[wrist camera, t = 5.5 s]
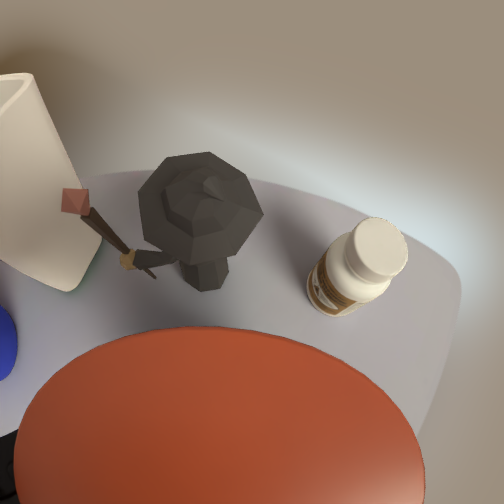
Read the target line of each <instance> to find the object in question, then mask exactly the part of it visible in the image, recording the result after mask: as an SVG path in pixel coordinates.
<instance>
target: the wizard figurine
mask: <svg viewBox="0 0 504 504" xmlns="http://www.w3.org/2000/svg"><path fill="white" fill-rule="evenodd" d="M138 198H139V206H140V214H141V222H142V229H143V236H144V240H145V241H147V242H149V243H150V244H152V245H154V246H156V247H157V248H159V249H161V250H163V251H162V252H156V251H148V250H139V249H137V251H135V250H133V249H129V248H128V247H127V246H126V245H125V244H124V243H123V242H122V241H121V239H120V238H119V237H118V236H117V235H116V234H115V233H114V231H113V230H112V229H111V228H110V227H109V226H108V224H107V223H106V222H105V221H104V220H103V219H102V217H101V216H100V215H99V214H98V213H97V211H96V210H95V209H94V208H93V207H90V204H89V195H88V189H72V188H63V192H62V205H61V212H66V213H72V214H78V215H81V217H80V219H81V220H83V221H84V222H85V223H86V224H87V225H89V226H90V227H91V228H92V229H93V230H95V231H96V232H97V233H98V234H99V235H101V236H102V237H103V238H104V239H105V240H107V241H108V242H109V243H110V244H112V245H113V246H114V247H115V248H117V249H118V250H119V251H120V252H122V254H121V256H120V263H121V266H122V267H123V268H125V269H126V270H131V269H137V268H138V269H139V270H144V271H145V272H146V273H148V274H149V275H150V276H151V277H153V278H154V279H156V278H157V277H156V276H155V275H154V274H153V273H152V272H151V271H150V270H149V269H148V268H152V267H157V266H162V265H166V264H171V263H174V262H175V261H177V260H179V264H180V267H181V270H182V273H183V276H184V279H185V281H186V282H187V283H189V284H190V285H191V286H193V287H194V288H196V289H197V290H198V291H200V292H202V291H208V290H215V289H220V288H221V286H222V284H223V282H224V280H225V278H226V276H227V274H228V272H229V270H228V264H227V258H226V257H229V256H233V255H236V254H237V252H238V251H239V249H240V248H241V246H242V245H243V244H244V242H245V241H246V239H247V238H248V236H249V235H250V234H251V232H252V231H253V229H254V228H255V227H256V225H257V224H258V222H259V221H260V219H261V218H262V217H263V215H264V214H263V212H262V209H261V207H260V205H259V203H258V201H257V198H256V196H255V194H254V192H253V190H252V187H251V185H250V183H249V181H248V179H247V176H246V175H245V174H244V173H242V172H241V171H239V170H238V169H236V168H235V167H233V166H231V165H230V164H228V163H227V162H225V161H224V160H222V159H220V158H219V157H217V156H216V155H214V154H212V153H211V152H203V153H195V154H187V155H180V156H173V157H167V158H166V159H165V160H164V161H163V162H162V163H161V164H160V166H159V167H158V168H157V169H156V170H155V171H154V173H153V174H152V175H151V176H150V177H149V179H148V180H147V181H146V182H145V184H144V185H143V186H142V187H141V189H140V190H139V191H138Z"/></svg>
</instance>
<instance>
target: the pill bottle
mask: <svg viewBox="0 0 504 504" xmlns="http://www.w3.org/2000/svg"><path fill="white" fill-rule="evenodd" d="M407 258H408V250H407V245H406V242H405V240H404V237H403V236H402V234H401V233H400V231H399V230H398V229H397V228H396V227H395V226H394V225H392V224H391V223H390V222H388V221H387V220H384V219H382V218H377V217H371V218H367V219H364V220H362V221H361V222H360V223H359V224H358V225H357V226H356V227H355V228H354V229H353V230H352V231H351V232H348V233H345V234H343V235H341V236H340V237H338V238H337V239H336V240H335V241H334V242H333V243H332V245H331V246H330V247H329V248H328V250H327V251H326V253H325V254H324V255H323V256H322V258H321V259H320V260H319V261H318V263H317V264H316V265H315V266H314V268H313V269H312V270H311V272H310V274H309V276H308V279H307V293H308V297H309V299H310V301H311V303H312V304H313V306H314V307H315V308H316V309H317V310H318V311H320V312H321V313H323V314H325V315H328V316H331V317H340V316H344V315H347V314H349V313H351V312H353V311H354V310H356V309H358V308H360V307H361V306H363V305H365V304H367V303H368V302H370V301H372V300H373V299H375V298H376V297H378V296H379V295H381V294H382V293H383V292H384V291H385V290H386V289H387V287H388V286H389V284H390V282H391V278H393V277H394V276H395V275H397V274H398V273H399V272H400V271H401V270H402V269H403V268H404V266H405V264H406V262H407Z"/></svg>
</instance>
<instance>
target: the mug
mask: <svg viewBox="0 0 504 504" xmlns="http://www.w3.org/2000/svg"><path fill="white" fill-rule="evenodd" d="M16 356H17V335H16V330H15V326H14V324H13V321H12V319H11V317H10V316H9V314H8V313H7V311H6V310H5V309H4V308H3V307H2V306H1V305H0V381H1V380H3V379H4V378H6V377H7V376H8V375H9V373H10V372H11V370H12V368H13V366H14V364H15V360H16Z"/></svg>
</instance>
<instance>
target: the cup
mask: <svg viewBox="0 0 504 504" xmlns="http://www.w3.org/2000/svg"><path fill="white" fill-rule="evenodd" d="M63 188H72V189H83V187H82V185H81V183H80V181H79V179H78V177H77V175H76V173H75V170H74V168H73V166H72V164H71V161H70V159H69V157H68V154H67V152H66V150H65V148H64V146H63V144H62V142H61V139H60V137H59V135H58V133H57V131H56V129H55V126H54V124H53V121H52V120H51V117H50V115H49V113H48V111H47V108H46V106H45V104H44V101H43V99H42V97H41V94H40V92H39V90H38V87H37V85H36V82H35V80H34V77H33V75H32V74H29V73H17V74H7V75H0V260H2V261H4V262H5V263H7V264H8V265H10V266H12V267H13V268H15V269H16V270H18V271H20V272H21V273H23V274H25V275H27V276H29V277H31V278H33V279H35V280H37V281H39V282H42V283H44V284H46V285H49V286H51V287H54V288H56V289H59V290H62V291H65V292H66V291H71V290H73V289H74V288H76V287H77V286H78V284H79V283H80V282H81V280H82V278H83V276H84V274H85V272H86V270H87V268H88V266H89V264H90V263H91V261H92V259H93V257H94V255H95V253H96V252H97V250H98V248H99V246H100V243H101V241H102V236H101V235H99V234H98V233H97V232H96V231H95V230H93V229H92V228H91V227H90V226H89V225H87V224H86V223H85V222H84V221H83V220H81V219H80V217H81V215H78V214H72V213H66V212H61V205H62V192H63Z"/></svg>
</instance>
